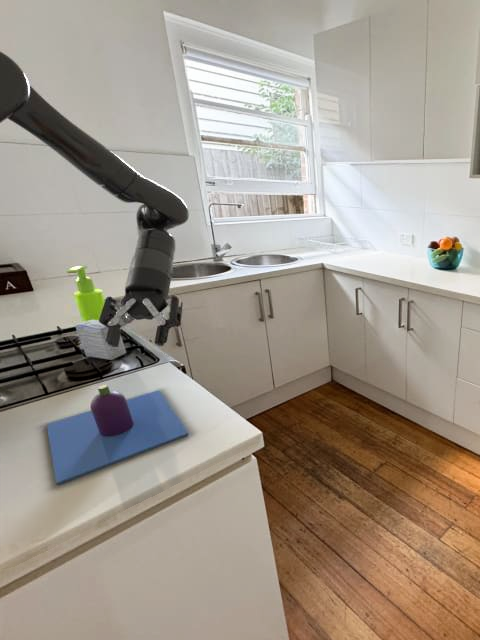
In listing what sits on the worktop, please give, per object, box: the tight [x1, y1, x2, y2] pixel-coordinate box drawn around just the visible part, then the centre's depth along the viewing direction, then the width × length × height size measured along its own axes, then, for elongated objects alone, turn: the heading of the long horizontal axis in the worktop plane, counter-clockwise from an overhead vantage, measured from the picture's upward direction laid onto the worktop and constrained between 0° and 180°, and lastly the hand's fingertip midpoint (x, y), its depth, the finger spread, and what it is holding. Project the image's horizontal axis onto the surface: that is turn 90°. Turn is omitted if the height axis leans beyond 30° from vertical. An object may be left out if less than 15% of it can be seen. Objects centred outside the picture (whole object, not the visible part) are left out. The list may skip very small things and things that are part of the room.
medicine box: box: [75, 320, 127, 361], centre depth 95 cm, size 8×4×9 cm, turn 77°
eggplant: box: [90, 384, 134, 436], centre depth 68 cm, size 5×5×9 cm
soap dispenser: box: [66, 265, 106, 323], centre depth 103 cm, size 6×7×20 cm
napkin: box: [46, 390, 189, 486], centre depth 69 cm, size 20×18×1 cm
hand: (136, 345), depth 76 cm, fingers open, 8 cm apart
